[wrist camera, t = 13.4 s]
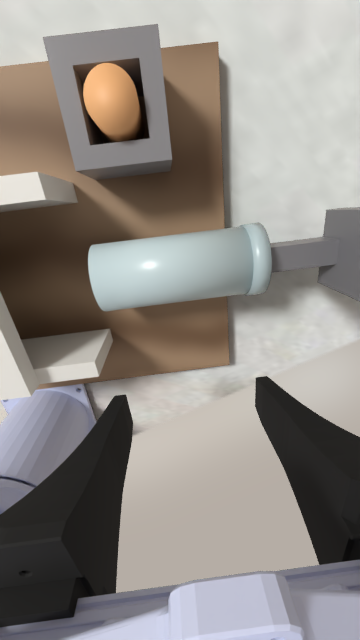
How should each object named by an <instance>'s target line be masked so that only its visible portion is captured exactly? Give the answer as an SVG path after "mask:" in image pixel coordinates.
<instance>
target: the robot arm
mask: <svg viewBox="0 0 360 640" xmlns="http://www.w3.org/2000/svg"><path fill="white" fill-rule="evenodd" d="M77 388H80V389H81V390H79V389H77ZM1 402H2V404H3V406H4V408H5V410H6V412H7V413H8V415H7V416H6V418H5V419H4V420H3V421H2V423H1V424H0V640H360V437H358V436H356V435H354V434H352V433H350V432H348V431H346V430H344V429H342V428H340V427H338V426H336V425H335V424H333V423H331V422H329V421H328V420H326V419H324V418H323V417H321V416H319V415H318V414H316V413H314V412H313V411H312V410H310V409H309V408H307V407H306V406H304V405H303V404H301V403H300V402H299V401H297V400H296V399H295V398H293V397H292V396H291V395H289V394H288V393H287V392H286V391H284V390H283V389H282V388H280V387H279V386H278V385H277V384H276V383H274V382H273V381H272V380H271V379H270V378H268V377H267V376H265V377H258V378H256V399H255V403H256V404H255V407H256V409H257V412H258V415H259V418H260V421H261V423H262V425H263V427H264V429H265V431H266V433H267V435H268V437H269V439H270V441H271V443H272V445H273V447H274V449H275V451H276V453H277V455H278V457H279V459H280V461H281V463H282V465H283V467H284V470H285V472H286V474H287V477H288V479H289V482H290V484H291V487H292V489H293V492H294V495H295V497H296V500H297V502H298V505H299V508H300V510H301V513H302V516H303V518H304V521H305V524H306V527H307V530H308V533H309V535H310V538H311V541H312V544H313V547H314V549H315V553H316V555H317V559H318V562H319V565H317V566H309V567H302V568H294V569H287V570H280V571H257V572H250V573H243V574H235V575H229V576H221V577H214V578H207V579H200V580H193V581H189V582H186V583H182V584H179V585H172V586H164V587H158V588H150V589H142V590H135V591H128V592H121V593H116V576H117V558H118V541H119V528H120V515H121V504H122V493H123V487H124V480H125V475H126V469H127V464H128V459H129V453H130V448H131V442H132V430H133V421H132V417H131V413H130V409H129V405H128V401H127V397H126V395H119V396H114V398H113V399H112V401H111V402H110V404H109V405H108V407H107V408H106V410H105V411H104V413H103V414H102V415H101V417H100V418H99V420H98V421H97V422H96V419H95V416H94V413H93V410H92V407H91V404H90V401H89V398H88V395H87V392H86V389H85V386H84V384H76V385H69V386H61V387H53V388H45V389H38V390H35V392H34V393H33V395H32V396H30V397H23V398H15V399H7V400H1Z"/></svg>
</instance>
